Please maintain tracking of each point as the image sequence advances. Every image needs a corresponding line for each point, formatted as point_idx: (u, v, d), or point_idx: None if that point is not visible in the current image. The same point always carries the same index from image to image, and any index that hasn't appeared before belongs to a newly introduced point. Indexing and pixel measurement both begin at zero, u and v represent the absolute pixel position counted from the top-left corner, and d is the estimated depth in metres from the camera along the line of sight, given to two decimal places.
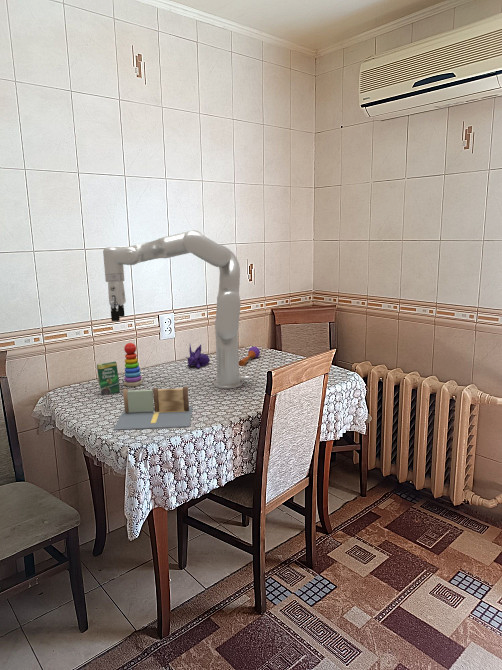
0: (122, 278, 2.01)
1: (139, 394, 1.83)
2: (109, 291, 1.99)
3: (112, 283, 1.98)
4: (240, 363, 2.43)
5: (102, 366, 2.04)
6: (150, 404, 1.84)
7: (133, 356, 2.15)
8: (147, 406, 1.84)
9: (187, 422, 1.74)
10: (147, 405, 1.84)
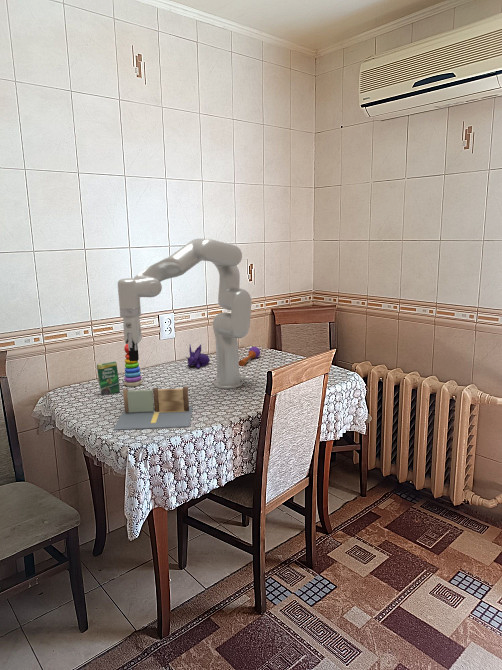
0: (139, 313, 1.81)
1: (139, 394, 1.83)
2: (124, 328, 1.78)
3: (128, 319, 1.78)
4: (240, 363, 2.43)
5: (102, 366, 2.04)
6: (150, 404, 1.84)
7: None
8: (147, 406, 1.84)
9: (187, 422, 1.74)
10: (147, 405, 1.84)
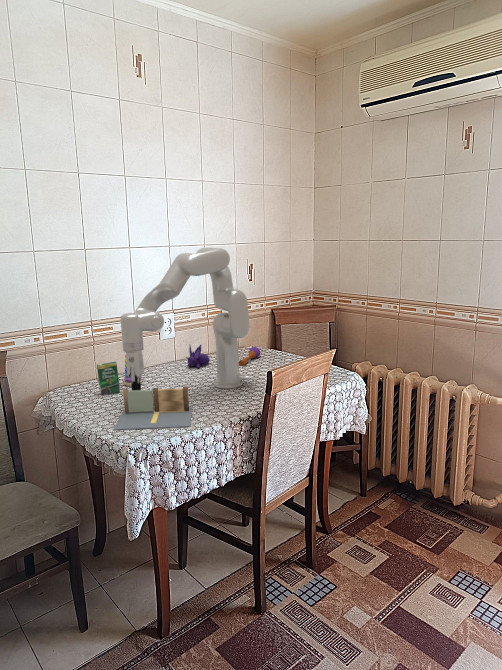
0: (141, 347, 1.83)
1: (139, 394, 1.83)
2: (127, 362, 1.81)
3: (131, 354, 1.81)
4: (240, 363, 2.43)
5: (102, 366, 2.04)
6: (150, 404, 1.84)
7: None
8: (147, 406, 1.84)
9: (187, 422, 1.74)
10: (147, 405, 1.84)
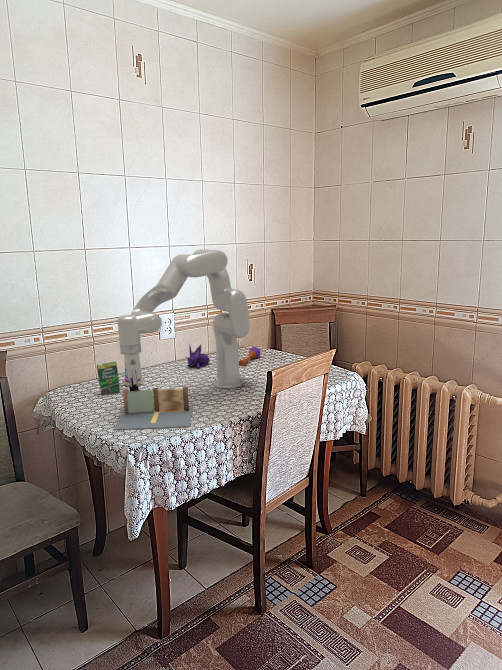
0: (140, 349, 1.81)
1: (139, 395, 1.82)
2: (128, 365, 1.78)
3: (132, 356, 1.77)
4: (240, 363, 2.43)
5: (102, 366, 2.04)
6: (150, 404, 1.83)
7: None
8: (147, 407, 1.83)
9: (187, 422, 1.74)
10: (147, 405, 1.83)
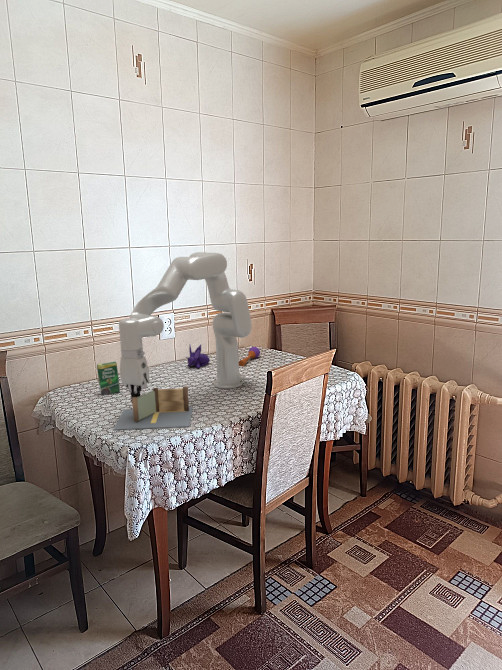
0: None
1: (146, 398, 1.78)
2: (140, 369, 1.72)
3: (142, 359, 1.73)
4: (240, 363, 2.43)
5: (102, 366, 2.04)
6: (153, 405, 1.82)
7: None
8: (151, 409, 1.81)
9: (187, 422, 1.74)
10: (152, 407, 1.81)
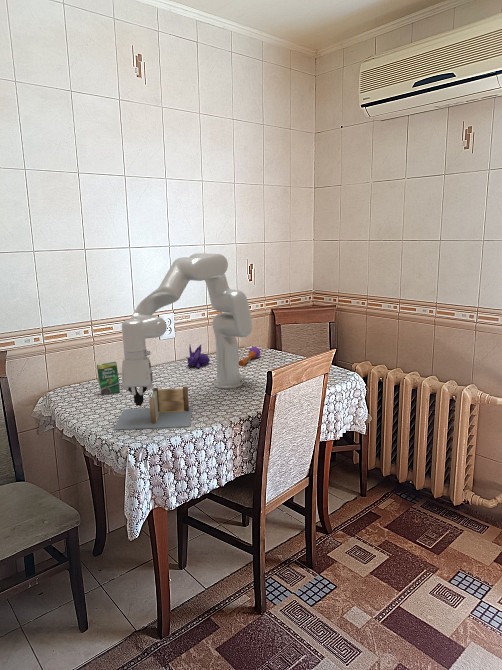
0: None
1: (155, 398, 1.78)
2: (148, 369, 1.71)
3: (148, 359, 1.72)
4: (240, 363, 2.42)
5: (102, 366, 2.04)
6: (157, 405, 1.82)
7: None
8: (157, 409, 1.81)
9: (187, 422, 1.74)
10: (157, 407, 1.81)
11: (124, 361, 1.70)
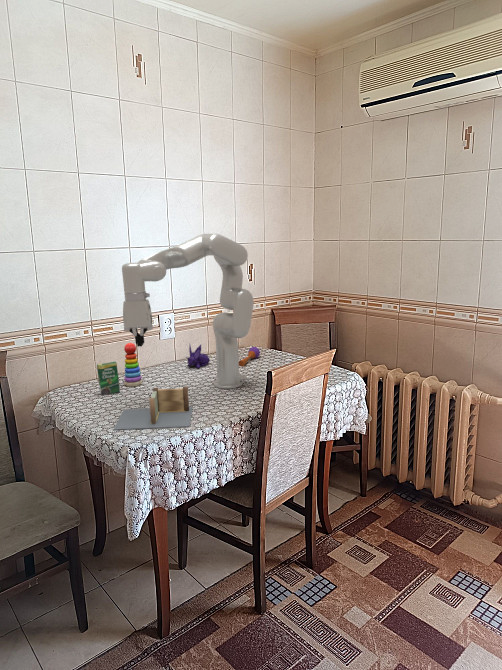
0: None
1: (155, 398, 1.78)
2: (148, 310, 1.80)
3: (148, 301, 1.81)
4: (240, 363, 2.42)
5: (102, 366, 2.04)
6: (157, 405, 1.82)
7: (133, 356, 2.15)
8: (157, 409, 1.81)
9: (187, 422, 1.74)
10: (157, 407, 1.81)
11: (125, 303, 1.79)
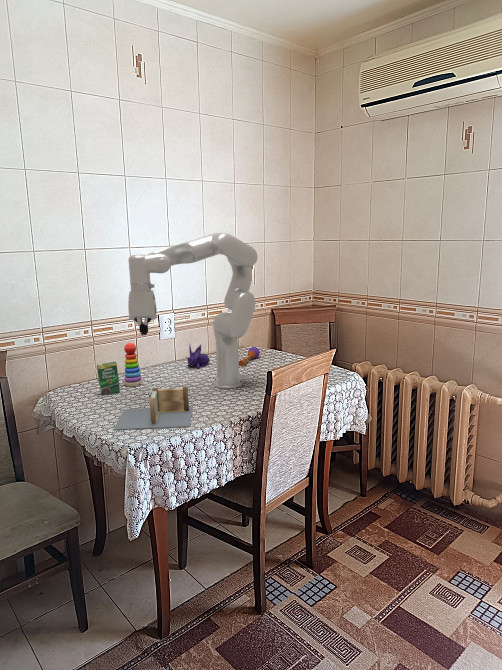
0: None
1: (155, 398, 1.78)
2: (153, 300, 1.88)
3: (152, 292, 1.89)
4: (240, 363, 2.42)
5: (102, 366, 2.04)
6: (157, 405, 1.82)
7: (133, 356, 2.15)
8: (157, 409, 1.81)
9: (187, 422, 1.74)
10: (157, 407, 1.81)
11: (130, 293, 1.87)
